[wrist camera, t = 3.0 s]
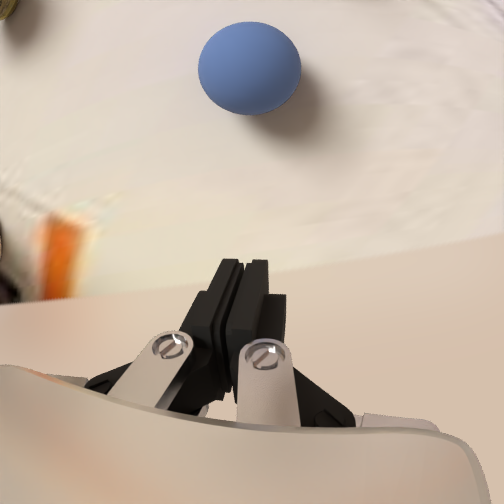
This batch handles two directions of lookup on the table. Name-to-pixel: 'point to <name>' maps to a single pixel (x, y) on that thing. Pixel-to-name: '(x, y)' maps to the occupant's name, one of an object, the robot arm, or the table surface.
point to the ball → (249, 68)
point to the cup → (7, 8)
